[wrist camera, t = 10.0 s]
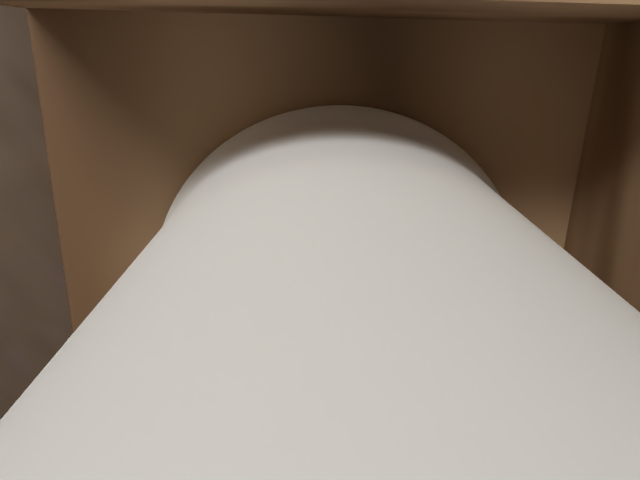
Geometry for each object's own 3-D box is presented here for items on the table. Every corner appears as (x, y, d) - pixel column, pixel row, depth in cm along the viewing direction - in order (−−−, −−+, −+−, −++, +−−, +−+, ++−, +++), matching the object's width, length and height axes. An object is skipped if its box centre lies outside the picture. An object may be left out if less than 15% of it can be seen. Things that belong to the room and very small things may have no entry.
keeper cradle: (118, 585, 17) (-55, 1061, 9) (32, -54, 11) (-706, -306, 3) (540, 590, 17) (733, 1062, 9) (679, -36, 11) (1562, -225, 3)
